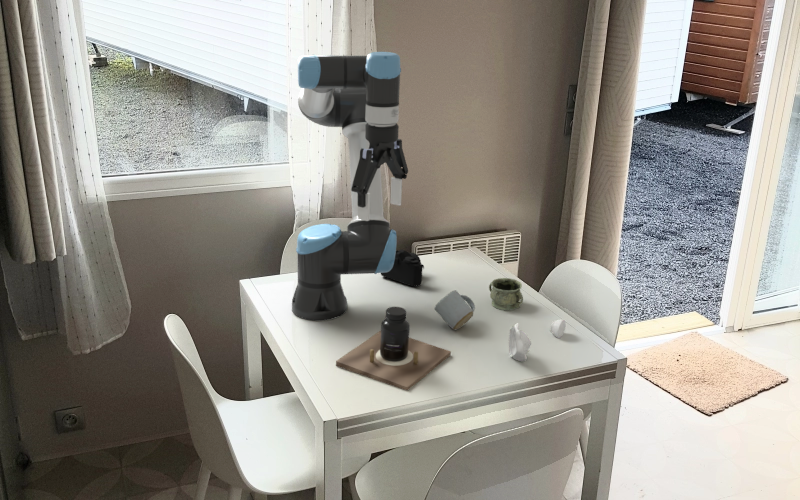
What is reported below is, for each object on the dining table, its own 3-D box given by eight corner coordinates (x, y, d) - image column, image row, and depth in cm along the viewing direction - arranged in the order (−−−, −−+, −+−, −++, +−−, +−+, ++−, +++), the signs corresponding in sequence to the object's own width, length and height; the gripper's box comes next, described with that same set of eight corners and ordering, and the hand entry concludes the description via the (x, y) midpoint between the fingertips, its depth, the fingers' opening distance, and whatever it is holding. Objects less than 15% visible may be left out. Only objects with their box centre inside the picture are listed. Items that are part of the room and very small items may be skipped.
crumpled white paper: (533, 371, 186) (537, 335, 182) (515, 371, 185) (519, 335, 182) (524, 350, 195) (527, 315, 191) (506, 350, 195) (510, 315, 191)
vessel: (531, 307, 218) (533, 286, 216) (511, 316, 213) (513, 295, 210) (498, 293, 226) (499, 273, 224) (478, 301, 221) (479, 281, 218)
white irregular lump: (558, 341, 200) (560, 324, 198) (547, 338, 201) (549, 321, 199) (565, 334, 204) (567, 317, 202) (554, 331, 205) (556, 314, 203)
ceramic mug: (452, 335, 204) (458, 323, 198) (431, 313, 207) (436, 300, 200) (480, 313, 209) (487, 300, 202) (459, 291, 211) (465, 278, 205)
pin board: (336, 366, 185) (336, 349, 183) (382, 334, 201) (383, 318, 199) (407, 393, 175) (407, 375, 174) (450, 356, 191) (451, 340, 189)
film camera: (435, 278, 235) (436, 250, 231) (415, 288, 227) (417, 260, 224) (395, 265, 243) (396, 238, 240) (375, 274, 236) (376, 247, 233)
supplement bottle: (387, 365, 183) (389, 319, 179) (375, 351, 189) (376, 307, 184) (413, 359, 186) (415, 314, 182) (400, 346, 192) (401, 302, 187)
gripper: (364, 135, 164) (362, 229, 172) (424, 116, 184) (421, 201, 192) (335, 130, 168) (335, 222, 176) (397, 111, 188) (395, 195, 196)
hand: (380, 211), depth 184 cm, fingers open, 13 cm apart
